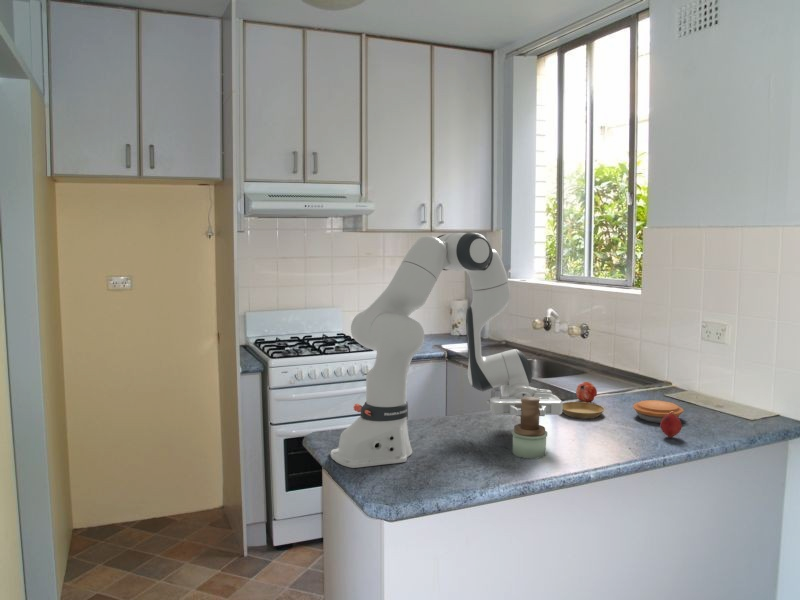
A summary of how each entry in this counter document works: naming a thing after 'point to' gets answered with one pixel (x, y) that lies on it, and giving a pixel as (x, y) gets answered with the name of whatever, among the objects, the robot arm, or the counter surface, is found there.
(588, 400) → the pomegranate
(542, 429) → the lid
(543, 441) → the canister
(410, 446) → the robot arm
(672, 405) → the pie
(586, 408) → the plant saucer
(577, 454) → the counter surface
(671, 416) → the onion
